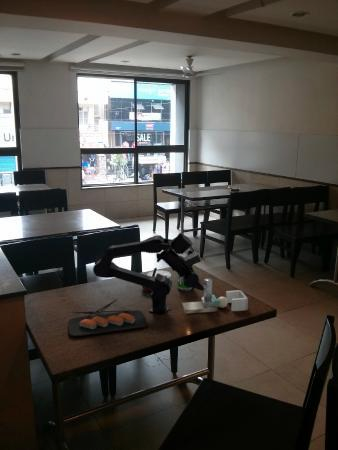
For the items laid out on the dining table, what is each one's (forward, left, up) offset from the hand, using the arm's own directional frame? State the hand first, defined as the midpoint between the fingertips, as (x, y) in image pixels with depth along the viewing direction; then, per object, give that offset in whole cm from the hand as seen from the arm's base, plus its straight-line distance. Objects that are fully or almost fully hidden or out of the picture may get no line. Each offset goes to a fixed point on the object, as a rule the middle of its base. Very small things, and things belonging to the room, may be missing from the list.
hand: (201, 285), depth 166 cm
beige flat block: (0, +1, -10) cm, 10 cm away
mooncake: (+21, +31, -11) cm, 39 cm away
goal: (+9, -12, -10) cm, 18 cm away
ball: (+6, -7, -8) cm, 12 cm away
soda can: (+17, +15, -11) cm, 25 cm away
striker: (+2, -3, -9) cm, 9 cm away
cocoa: (+7, +29, -11) cm, 32 cm away
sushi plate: (-23, +32, -11) cm, 41 cm away
